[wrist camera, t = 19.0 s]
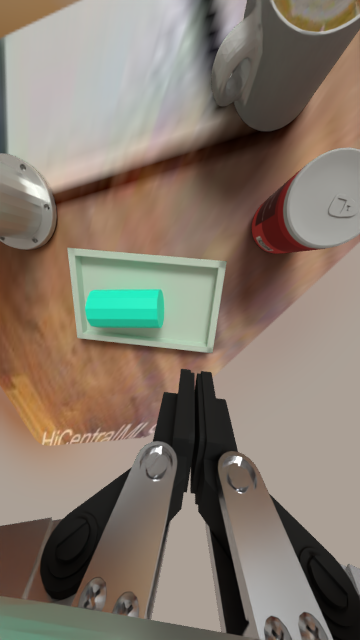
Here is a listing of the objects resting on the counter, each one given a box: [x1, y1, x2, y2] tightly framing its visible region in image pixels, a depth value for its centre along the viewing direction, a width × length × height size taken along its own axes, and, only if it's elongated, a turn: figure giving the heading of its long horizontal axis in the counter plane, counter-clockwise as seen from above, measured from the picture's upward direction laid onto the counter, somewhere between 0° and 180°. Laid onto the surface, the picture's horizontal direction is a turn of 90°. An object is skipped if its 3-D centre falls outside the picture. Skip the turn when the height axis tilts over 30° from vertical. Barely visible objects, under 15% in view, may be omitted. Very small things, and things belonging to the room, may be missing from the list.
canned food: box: [252, 148, 360, 254], centre depth 20 cm, size 8×8×11 cm
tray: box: [68, 248, 227, 353], centre depth 30 cm, size 24×15×2 cm, turn 85°
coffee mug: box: [211, 0, 360, 131], centre depth 17 cm, size 13×10×10 cm
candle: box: [85, 289, 164, 328], centre depth 27 cm, size 6×6×12 cm
